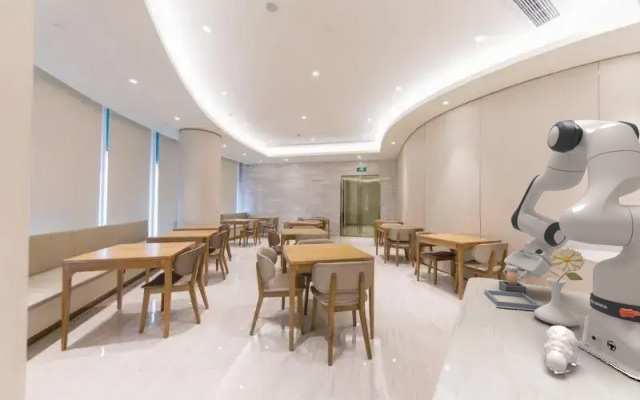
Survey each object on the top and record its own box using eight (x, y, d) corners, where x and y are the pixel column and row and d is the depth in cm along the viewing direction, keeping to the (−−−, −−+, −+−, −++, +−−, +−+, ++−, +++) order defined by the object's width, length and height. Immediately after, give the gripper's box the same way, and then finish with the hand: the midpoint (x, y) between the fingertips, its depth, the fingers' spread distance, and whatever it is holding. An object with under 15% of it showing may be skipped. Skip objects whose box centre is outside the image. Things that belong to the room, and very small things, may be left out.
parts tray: (541, 312, 100) (541, 305, 100) (497, 308, 103) (497, 301, 103) (522, 299, 113) (522, 292, 113) (484, 295, 116) (484, 289, 116)
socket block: (526, 298, 114) (526, 287, 114) (505, 296, 116) (505, 285, 116) (517, 292, 121) (518, 282, 121) (498, 290, 123) (498, 280, 123)
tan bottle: (519, 294, 116) (519, 267, 116) (508, 293, 117) (509, 267, 117) (515, 291, 120) (515, 265, 120) (505, 290, 121) (505, 264, 121)
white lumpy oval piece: (579, 327, 69) (573, 349, 61) (579, 360, 69) (573, 387, 61) (546, 319, 73) (537, 338, 65) (546, 350, 74) (537, 373, 66)
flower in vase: (526, 318, 95) (527, 244, 95) (546, 313, 99) (547, 242, 99) (573, 335, 83) (574, 251, 83) (593, 328, 87) (595, 249, 87)
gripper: (514, 244, 128) (492, 265, 129) (547, 253, 108) (520, 277, 109) (524, 254, 128) (502, 275, 129) (559, 265, 108) (532, 289, 108)
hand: (510, 276), depth 118 cm, fingers open, 8 cm apart
